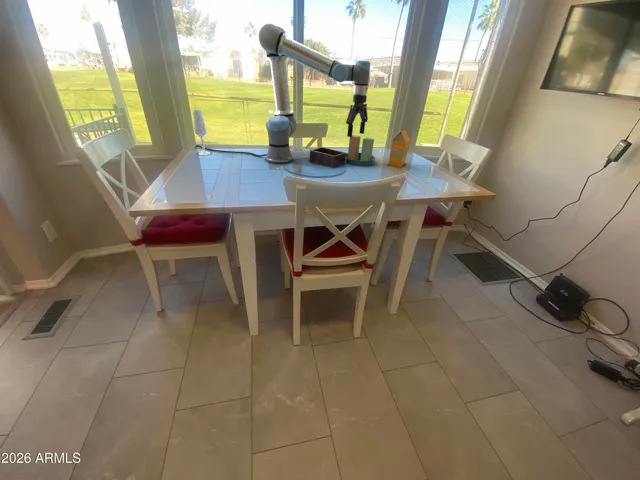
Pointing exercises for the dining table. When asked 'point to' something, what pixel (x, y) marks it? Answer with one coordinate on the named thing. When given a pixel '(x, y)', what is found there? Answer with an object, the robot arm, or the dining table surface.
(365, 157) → the packet sage
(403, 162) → the orange juice
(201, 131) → the champagne flute
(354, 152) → the packet kraft
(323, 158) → the box
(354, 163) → the bowl
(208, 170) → the dining table surface
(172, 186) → the dining table surface
